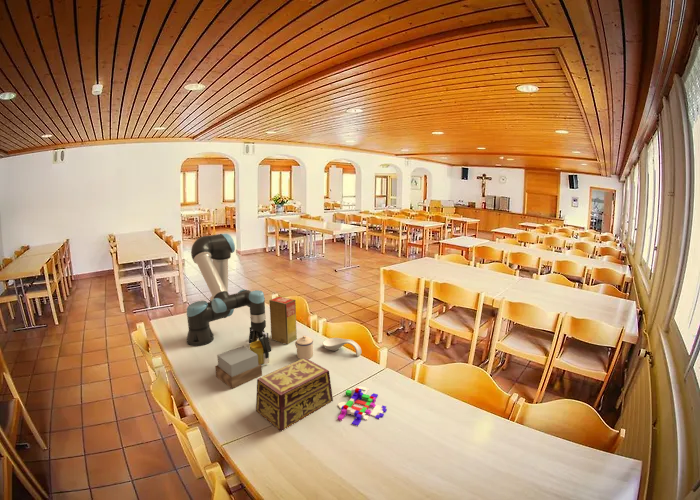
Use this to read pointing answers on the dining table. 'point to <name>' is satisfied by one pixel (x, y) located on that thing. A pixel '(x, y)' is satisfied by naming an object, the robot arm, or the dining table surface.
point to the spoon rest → (341, 344)
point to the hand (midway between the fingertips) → (260, 359)
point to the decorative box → (293, 392)
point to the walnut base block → (238, 376)
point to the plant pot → (257, 350)
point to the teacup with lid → (304, 347)
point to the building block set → (360, 412)
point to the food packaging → (283, 320)
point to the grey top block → (237, 360)
